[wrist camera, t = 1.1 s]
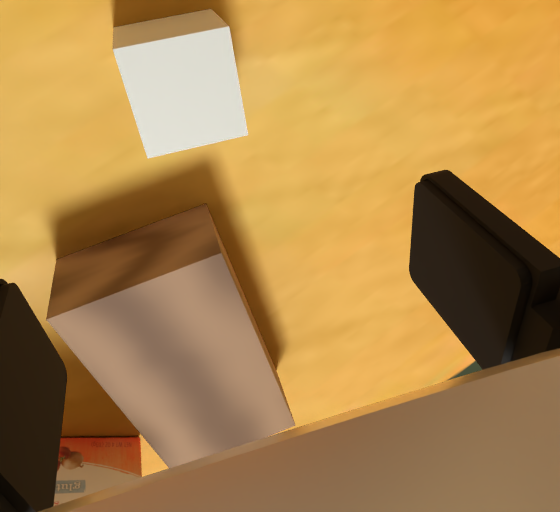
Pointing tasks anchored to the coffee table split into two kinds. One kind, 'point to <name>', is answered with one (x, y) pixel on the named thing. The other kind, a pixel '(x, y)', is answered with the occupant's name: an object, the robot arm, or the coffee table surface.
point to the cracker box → (95, 465)
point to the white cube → (181, 81)
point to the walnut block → (171, 337)
